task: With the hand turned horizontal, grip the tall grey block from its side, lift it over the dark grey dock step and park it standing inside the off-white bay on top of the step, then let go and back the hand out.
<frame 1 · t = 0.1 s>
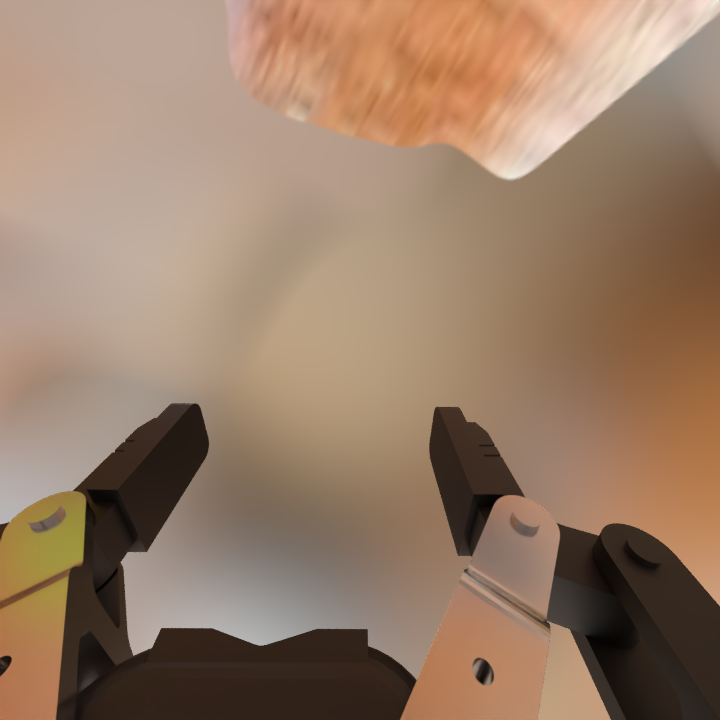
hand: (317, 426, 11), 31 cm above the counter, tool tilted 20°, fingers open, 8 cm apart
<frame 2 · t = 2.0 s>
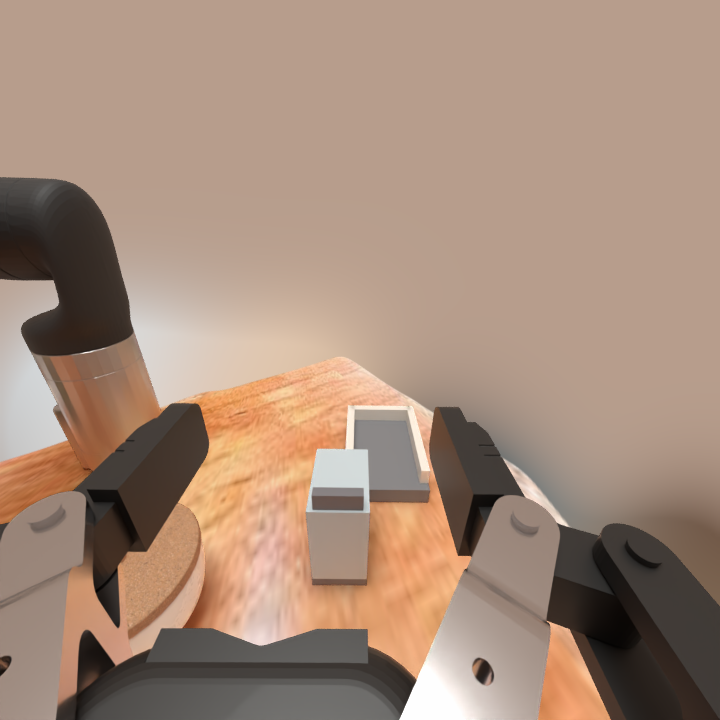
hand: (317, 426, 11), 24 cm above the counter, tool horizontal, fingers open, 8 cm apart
lidded jar: (149, 617, 26), on the counter
bay: (383, 439, 42), on the dock, point 2 cm above the counter
dock: (382, 461, 42), on the counter
tall grey block: (341, 547, 31), on the counter
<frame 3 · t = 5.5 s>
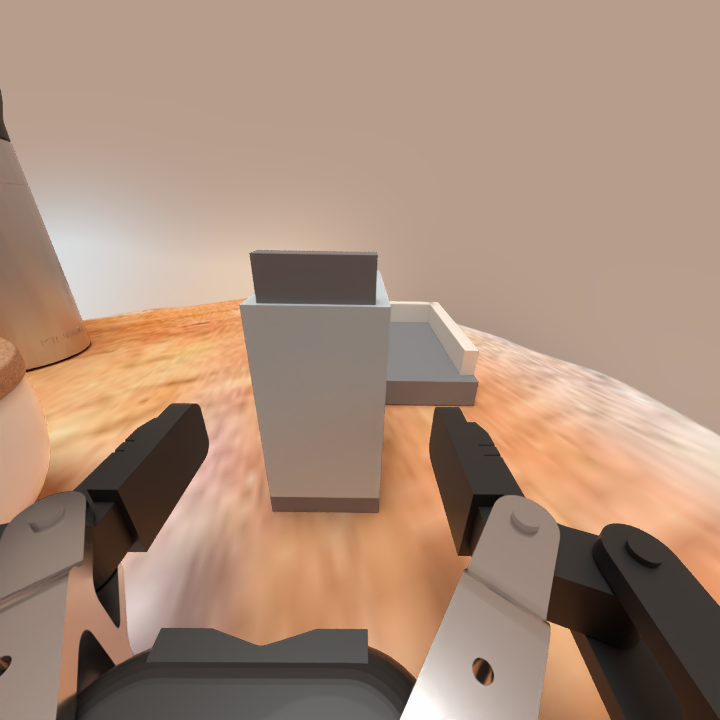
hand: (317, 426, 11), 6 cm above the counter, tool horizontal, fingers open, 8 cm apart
bay: (397, 330, 28), on the dock, point 2 cm above the counter
dock: (396, 364, 28), on the counter
tall grey block: (331, 458, 18), on the counter
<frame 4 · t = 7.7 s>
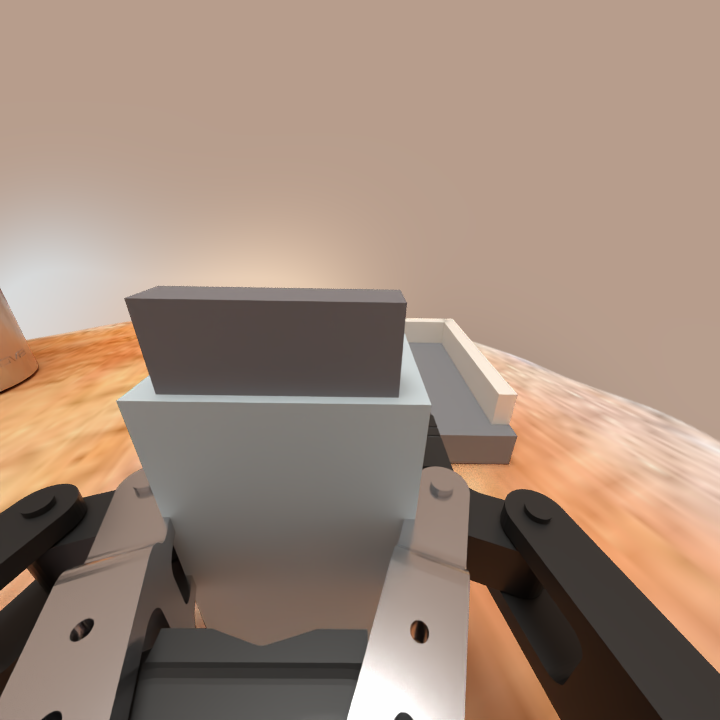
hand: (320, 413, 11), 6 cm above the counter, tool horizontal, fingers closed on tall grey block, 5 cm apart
bay: (407, 358, 23), on the dock, point 2 cm above the counter
dock: (405, 399, 23), on the counter
tall grey block: (322, 560, 12), on the counter, touching gripper
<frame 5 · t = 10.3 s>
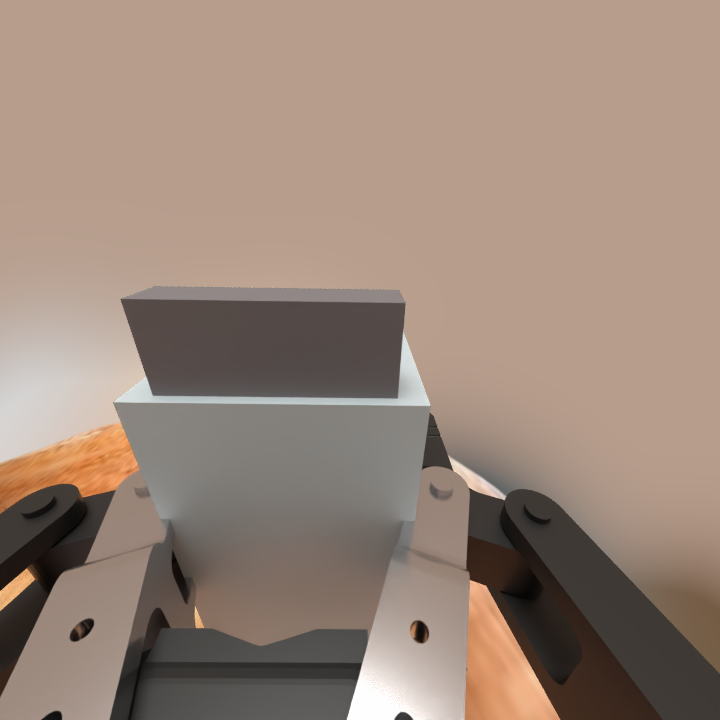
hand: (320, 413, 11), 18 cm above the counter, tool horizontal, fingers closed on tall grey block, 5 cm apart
tall grey block: (322, 561, 12), point 12 cm above the counter, touching gripper
when the fingers open (9 cm above the counter, at t = 13.3 s): tall grey block drops 1 cm, resting on dock.
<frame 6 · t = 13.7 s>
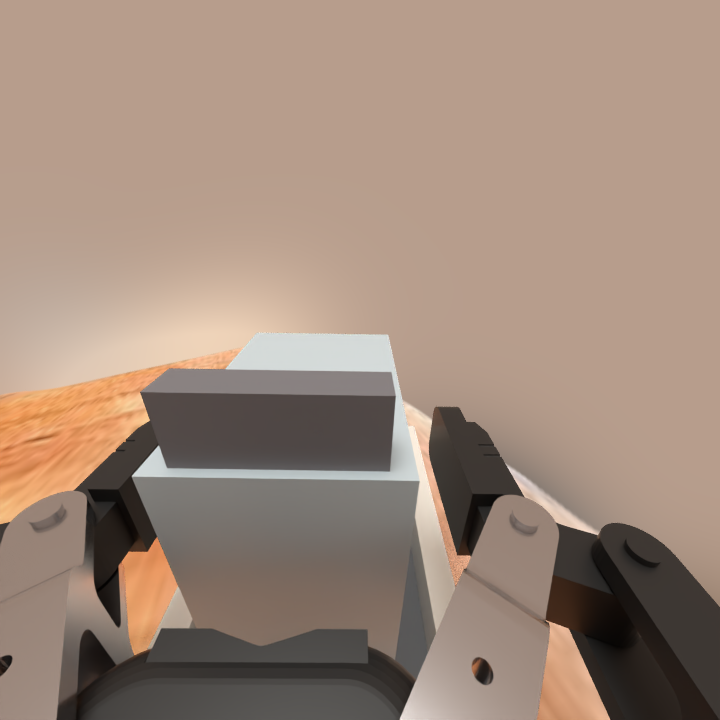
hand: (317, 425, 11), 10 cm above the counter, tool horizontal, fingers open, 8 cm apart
bay: (325, 532, 14), on the dock, point 2 cm above the counter
dock: (326, 593, 14), on the counter
tall grey block: (322, 586, 13), point 2 cm above the counter, touching dock
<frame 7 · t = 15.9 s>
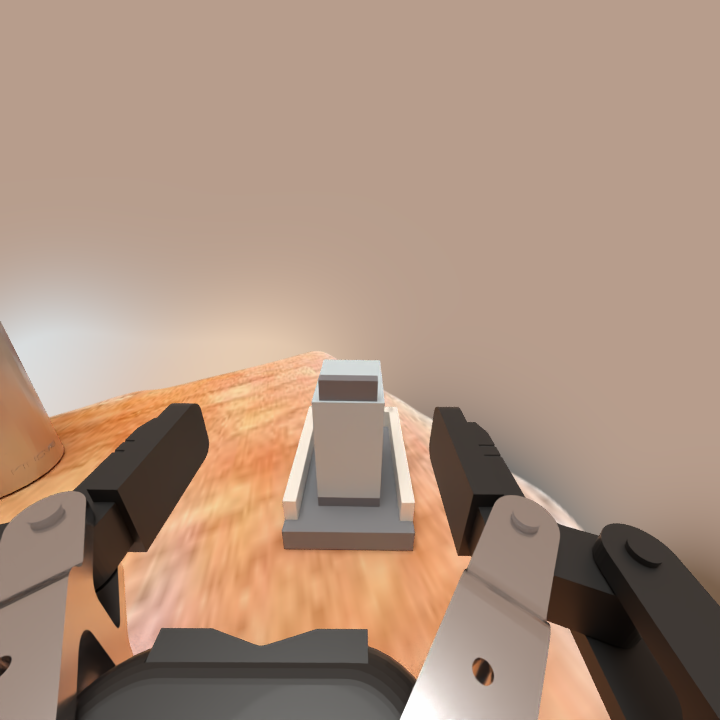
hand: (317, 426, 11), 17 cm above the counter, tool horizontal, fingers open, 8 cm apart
bay: (351, 452, 29), on the dock, point 2 cm above the counter
dock: (351, 483, 30), on the counter
tall grey block: (350, 474, 28), point 2 cm above the counter, touching dock
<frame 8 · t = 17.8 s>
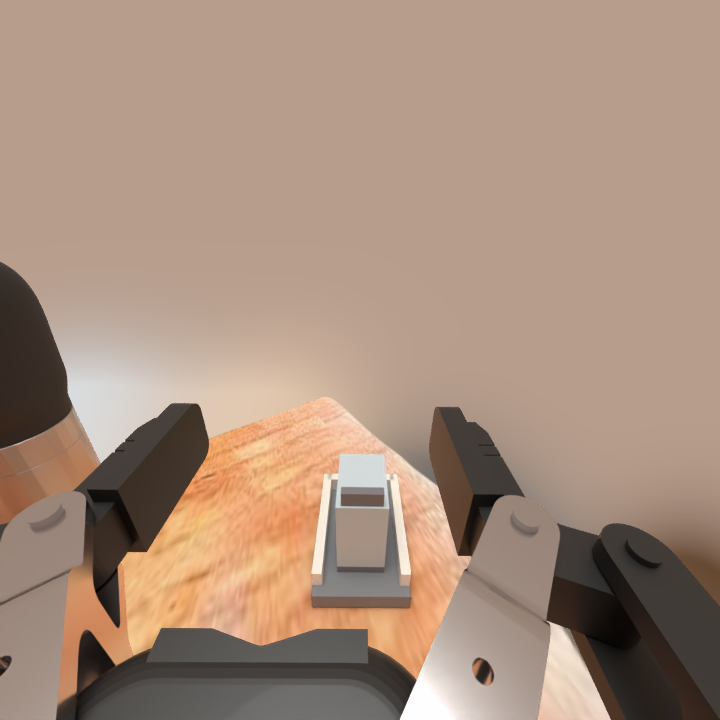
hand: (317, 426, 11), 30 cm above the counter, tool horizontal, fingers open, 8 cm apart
bay: (360, 521, 37), on the dock, point 2 cm above the counter
dock: (360, 545, 37), on the counter
tall grey block: (360, 540, 36), point 2 cm above the counter, touching dock
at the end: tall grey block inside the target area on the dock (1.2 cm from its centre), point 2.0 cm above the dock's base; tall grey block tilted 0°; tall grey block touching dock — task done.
